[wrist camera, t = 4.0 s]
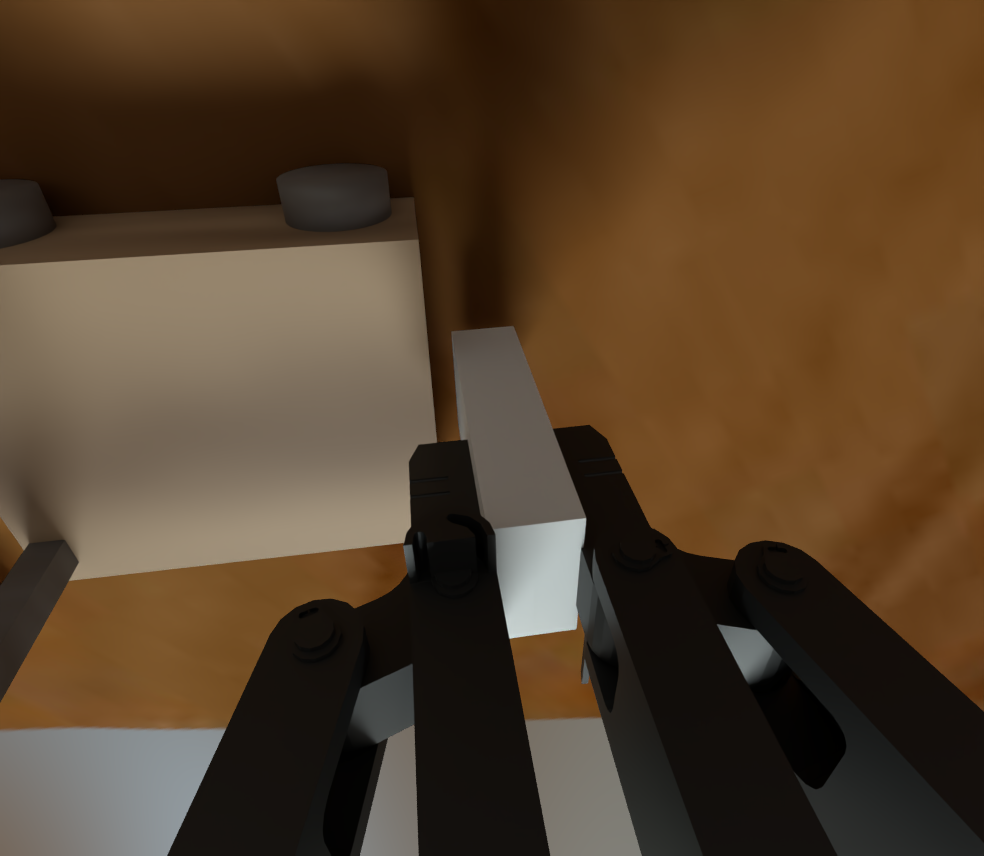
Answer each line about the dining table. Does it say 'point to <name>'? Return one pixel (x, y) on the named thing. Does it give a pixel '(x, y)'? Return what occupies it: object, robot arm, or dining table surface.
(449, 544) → the robot arm
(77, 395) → the trolley
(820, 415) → the dining table surface
